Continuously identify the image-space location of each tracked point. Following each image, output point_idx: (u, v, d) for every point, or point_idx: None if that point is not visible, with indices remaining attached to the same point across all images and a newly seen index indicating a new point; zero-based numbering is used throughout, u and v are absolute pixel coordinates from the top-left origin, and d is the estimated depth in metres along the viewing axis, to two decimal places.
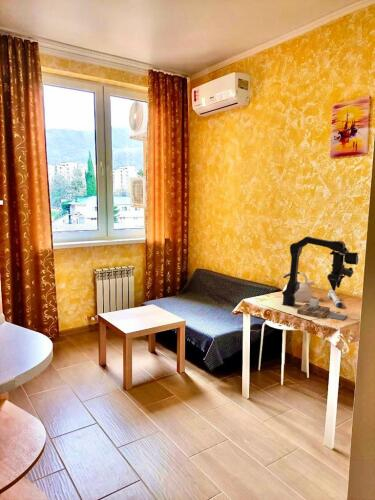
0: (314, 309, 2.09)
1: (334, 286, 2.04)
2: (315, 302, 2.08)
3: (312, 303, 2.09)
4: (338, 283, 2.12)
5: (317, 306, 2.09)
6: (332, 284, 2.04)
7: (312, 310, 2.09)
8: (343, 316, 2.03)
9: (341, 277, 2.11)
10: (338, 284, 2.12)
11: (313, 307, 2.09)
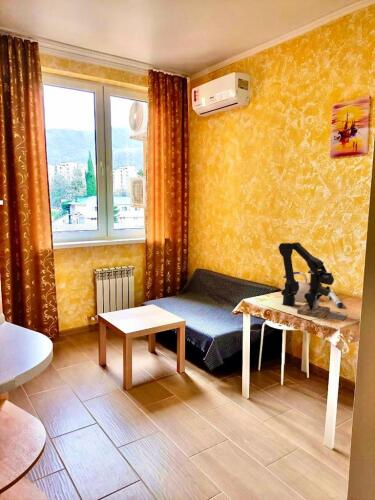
0: (314, 309, 2.09)
1: (311, 305, 2.06)
2: (315, 302, 2.08)
3: None
4: None
5: (317, 306, 2.09)
6: (309, 303, 2.06)
7: (312, 310, 2.09)
8: (343, 316, 2.03)
9: (319, 295, 2.13)
10: None
11: (313, 307, 2.09)
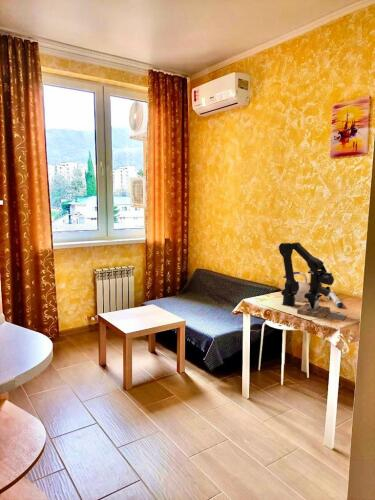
0: (314, 309, 2.09)
1: (312, 304, 2.08)
2: (315, 302, 2.08)
3: None
4: None
5: (317, 306, 2.09)
6: (311, 302, 2.08)
7: (312, 310, 2.09)
8: (343, 316, 2.03)
9: (318, 296, 2.11)
10: None
11: None
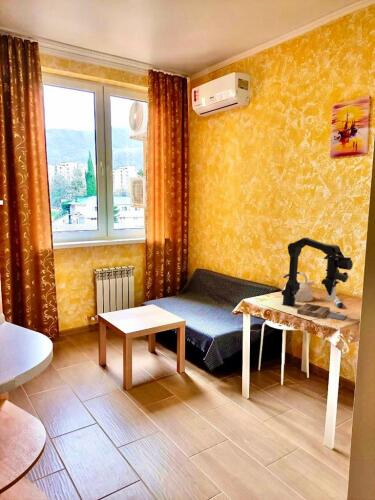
0: (332, 295, 2.02)
1: (330, 291, 2.01)
2: None
3: None
4: None
5: (334, 293, 2.03)
6: (328, 289, 2.01)
7: (329, 297, 2.02)
8: (343, 316, 2.03)
9: (335, 283, 2.05)
10: None
11: None
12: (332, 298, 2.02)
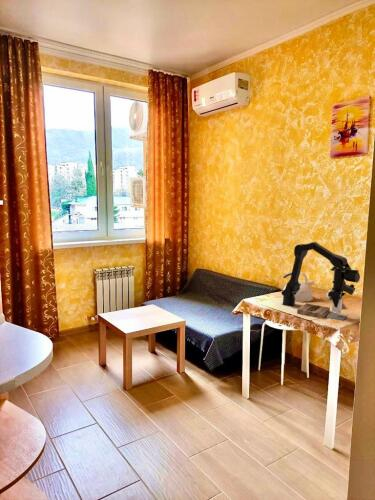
0: (338, 307, 2.00)
1: (336, 303, 2.00)
2: (339, 300, 2.00)
3: None
4: None
5: (341, 305, 2.01)
6: (334, 301, 2.00)
7: (335, 309, 2.01)
8: (343, 316, 2.03)
9: (341, 295, 2.03)
10: None
11: (337, 306, 2.01)
12: (338, 310, 2.00)
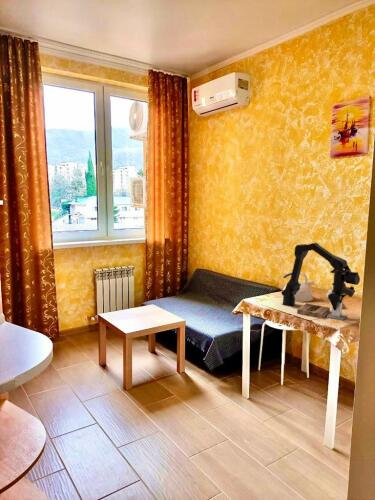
0: (337, 312, 2.01)
1: (335, 306, 1.98)
2: (339, 305, 2.00)
3: None
4: None
5: (340, 309, 2.02)
6: (333, 304, 1.98)
7: (335, 313, 2.02)
8: (343, 316, 2.03)
9: (342, 296, 2.05)
10: None
11: (336, 310, 2.01)
12: (338, 314, 2.01)
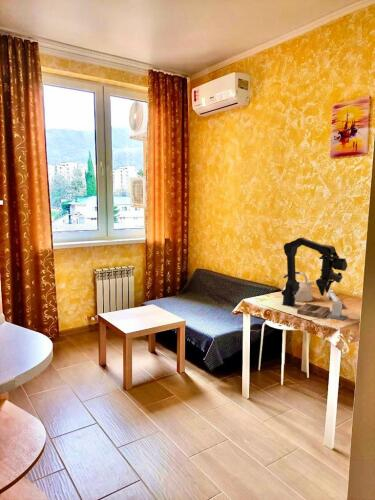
0: (337, 312, 2.01)
1: (322, 291, 2.03)
2: (339, 305, 2.00)
3: (335, 306, 2.01)
4: (327, 288, 2.11)
5: (340, 309, 2.02)
6: (320, 289, 2.03)
7: (335, 313, 2.02)
8: (343, 316, 2.03)
9: (330, 282, 2.10)
10: (327, 289, 2.11)
11: (336, 310, 2.01)
12: (338, 314, 2.01)
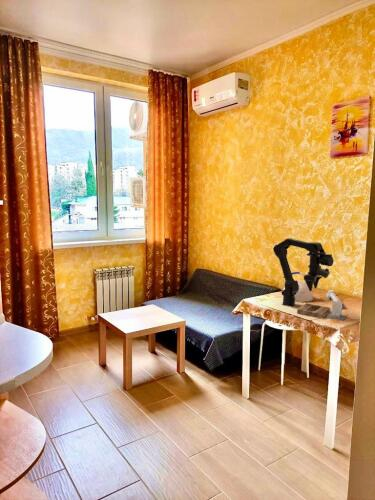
0: (337, 312, 2.01)
1: (310, 287, 2.08)
2: (339, 305, 2.00)
3: (335, 306, 2.01)
4: (315, 284, 2.16)
5: (340, 309, 2.02)
6: (308, 285, 2.08)
7: (335, 313, 2.02)
8: (343, 316, 2.03)
9: (318, 278, 2.15)
10: (315, 285, 2.16)
11: (336, 310, 2.01)
12: (338, 314, 2.01)
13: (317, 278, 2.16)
